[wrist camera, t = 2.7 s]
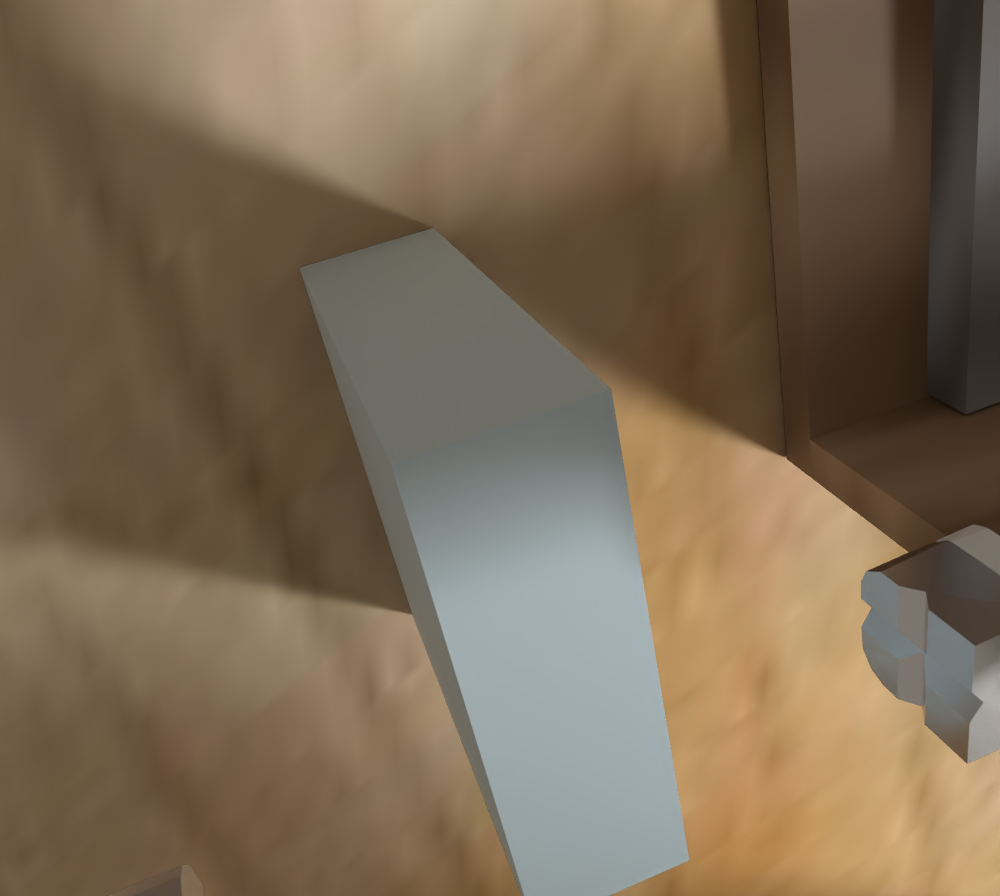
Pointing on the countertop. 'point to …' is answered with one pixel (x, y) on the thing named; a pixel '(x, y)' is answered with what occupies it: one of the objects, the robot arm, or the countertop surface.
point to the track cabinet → (888, 253)
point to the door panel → (511, 556)
